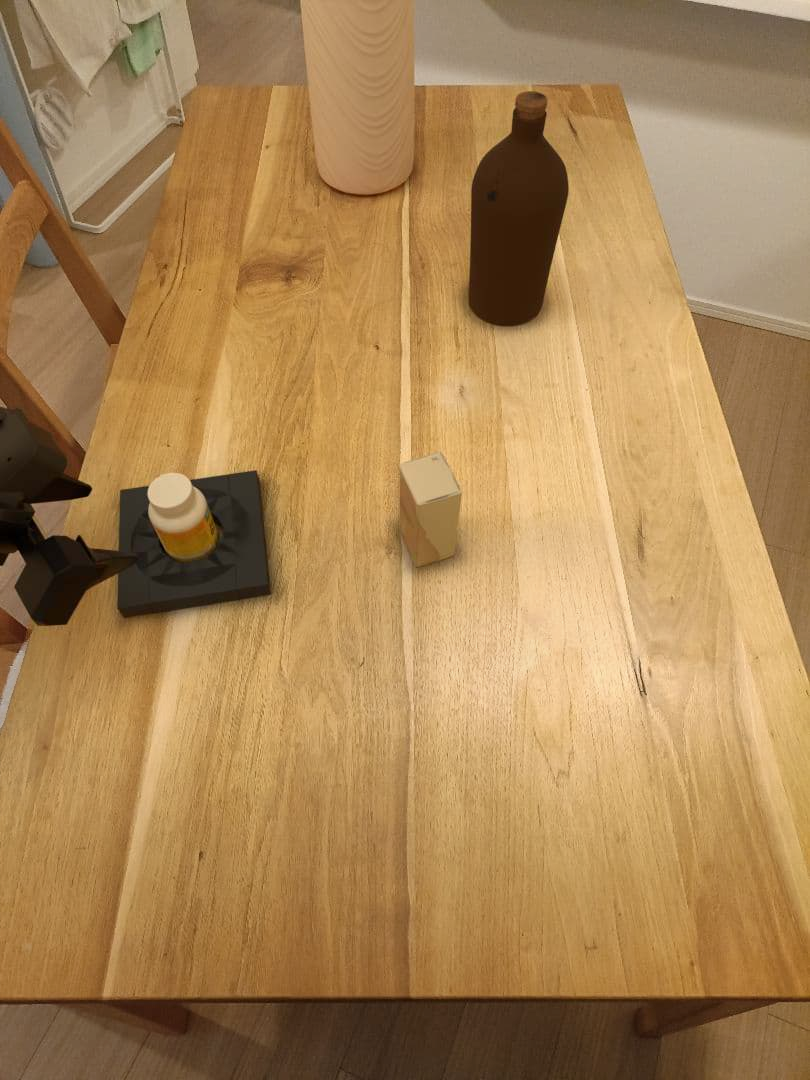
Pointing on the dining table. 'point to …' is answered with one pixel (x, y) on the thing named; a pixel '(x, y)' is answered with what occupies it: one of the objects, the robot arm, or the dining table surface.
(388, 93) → the vase
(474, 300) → the olive oil
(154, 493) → the supplement bottle
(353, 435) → the dining table surface
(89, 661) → the dining table surface
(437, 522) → the box
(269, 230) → the dining table surface
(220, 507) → the socket pad
